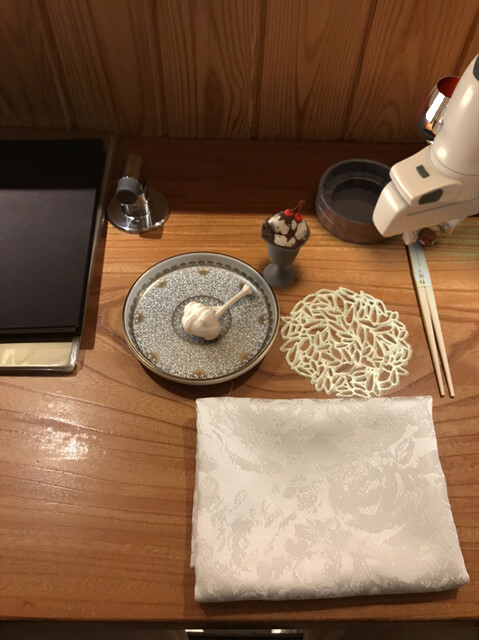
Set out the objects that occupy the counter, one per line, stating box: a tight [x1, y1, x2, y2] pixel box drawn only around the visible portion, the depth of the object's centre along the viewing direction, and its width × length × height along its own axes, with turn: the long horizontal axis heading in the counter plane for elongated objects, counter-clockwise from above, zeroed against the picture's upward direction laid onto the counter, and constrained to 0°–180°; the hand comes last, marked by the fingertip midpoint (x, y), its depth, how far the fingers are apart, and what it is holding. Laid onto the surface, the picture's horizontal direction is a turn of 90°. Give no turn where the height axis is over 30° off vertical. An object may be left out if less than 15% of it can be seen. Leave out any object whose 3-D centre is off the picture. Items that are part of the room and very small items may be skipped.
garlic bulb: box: [181, 283, 254, 341], centre depth 79 cm, size 7×5×12 cm
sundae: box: [260, 200, 311, 289], centre depth 78 cm, size 7×7×15 cm
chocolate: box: [417, 225, 438, 246], centre depth 87 cm, size 3×2×4 cm
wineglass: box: [414, 75, 462, 146], centre depth 89 cm, size 8×8×18 cm
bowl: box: [314, 158, 393, 244], centre depth 90 cm, size 14×14×5 cm
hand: (426, 236), depth 88 cm, fingers open, 5 cm apart
